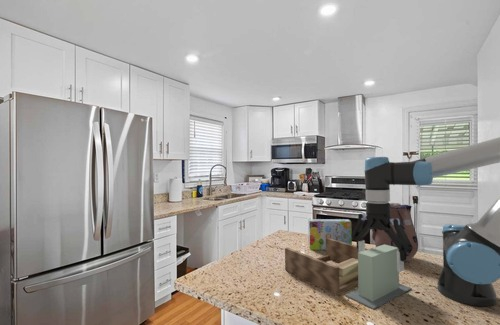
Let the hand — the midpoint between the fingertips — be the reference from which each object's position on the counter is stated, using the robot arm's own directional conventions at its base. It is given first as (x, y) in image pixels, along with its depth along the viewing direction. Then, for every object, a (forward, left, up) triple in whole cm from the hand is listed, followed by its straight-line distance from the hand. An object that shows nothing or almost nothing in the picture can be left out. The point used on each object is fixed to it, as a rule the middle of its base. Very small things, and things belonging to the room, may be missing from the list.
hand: (380, 264), depth 89 cm
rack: (+20, 0, -10) cm, 23 cm away
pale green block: (0, 0, -9) cm, 9 cm away
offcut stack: (+13, 0, -10) cm, 16 cm away
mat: (0, 0, -10) cm, 10 cm away
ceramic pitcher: (+15, -36, -10) cm, 40 cm away
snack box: (+41, -24, -10) cm, 49 cm away
